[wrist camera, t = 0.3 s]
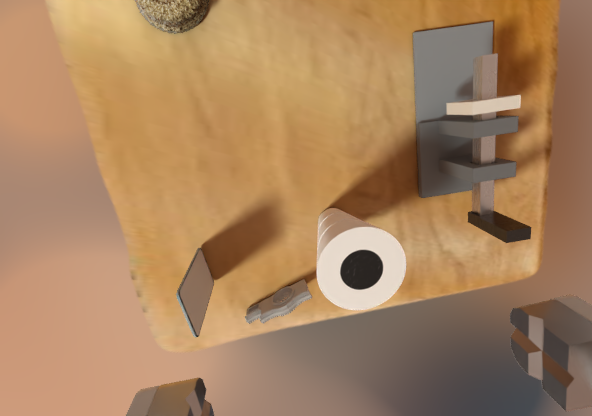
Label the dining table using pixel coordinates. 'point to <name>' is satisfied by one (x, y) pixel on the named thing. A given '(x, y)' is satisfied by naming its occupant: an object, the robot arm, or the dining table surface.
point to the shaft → (489, 161)
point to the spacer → (483, 105)
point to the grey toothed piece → (279, 303)
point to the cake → (173, 13)
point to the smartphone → (196, 292)
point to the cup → (357, 261)
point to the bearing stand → (458, 154)
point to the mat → (447, 67)
